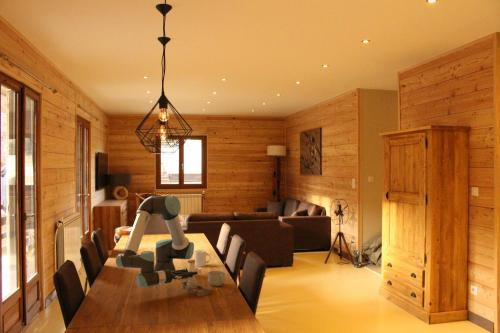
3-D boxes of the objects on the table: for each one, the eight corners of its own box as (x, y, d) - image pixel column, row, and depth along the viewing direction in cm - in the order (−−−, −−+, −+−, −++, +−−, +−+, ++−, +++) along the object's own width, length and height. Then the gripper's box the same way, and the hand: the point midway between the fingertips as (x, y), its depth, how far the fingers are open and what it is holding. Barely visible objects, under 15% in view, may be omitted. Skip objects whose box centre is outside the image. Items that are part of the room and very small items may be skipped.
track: (182, 288, 255) (182, 281, 255) (193, 286, 260) (193, 279, 260) (198, 296, 239) (198, 289, 239) (210, 293, 244) (210, 286, 244)
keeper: (185, 286, 255) (185, 260, 255) (192, 285, 258) (192, 258, 258) (190, 288, 250) (190, 261, 250) (197, 287, 253) (197, 260, 253)
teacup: (206, 283, 266) (206, 270, 266) (222, 281, 269) (222, 269, 269) (212, 289, 252) (211, 276, 252) (229, 287, 256) (229, 274, 256)
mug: (210, 266, 311) (210, 252, 311) (194, 267, 310) (194, 252, 310) (210, 263, 320) (210, 249, 320) (194, 264, 319) (194, 250, 319)
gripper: (157, 280, 250) (192, 274, 264) (170, 286, 236) (206, 280, 250) (157, 267, 250) (192, 262, 264) (170, 273, 236) (206, 267, 250)
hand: (199, 271), depth 257 cm, fingers closed on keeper, 4 cm apart
